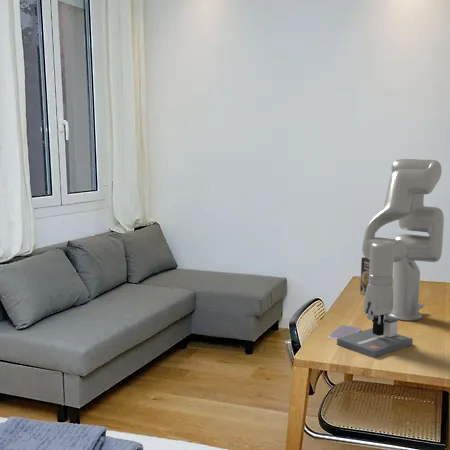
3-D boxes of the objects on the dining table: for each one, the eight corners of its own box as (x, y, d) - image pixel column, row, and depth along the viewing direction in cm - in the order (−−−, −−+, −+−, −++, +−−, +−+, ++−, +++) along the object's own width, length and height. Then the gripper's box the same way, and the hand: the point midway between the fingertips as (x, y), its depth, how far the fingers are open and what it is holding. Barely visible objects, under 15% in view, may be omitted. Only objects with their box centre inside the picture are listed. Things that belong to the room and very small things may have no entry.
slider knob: (384, 331, 202) (385, 315, 201) (397, 335, 198) (398, 319, 197) (376, 333, 199) (377, 317, 198) (389, 337, 195) (390, 321, 194)
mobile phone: (361, 327, 210) (349, 339, 197) (361, 330, 211) (349, 342, 198) (341, 324, 214) (327, 336, 201) (341, 326, 214) (327, 338, 201)
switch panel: (375, 332, 207) (375, 326, 207) (412, 344, 195) (412, 338, 195) (336, 344, 195) (337, 338, 194) (374, 357, 183) (374, 351, 183)
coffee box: (359, 293, 259) (360, 257, 257) (371, 292, 262) (372, 256, 260) (372, 298, 251) (374, 261, 249) (384, 297, 254) (386, 260, 252)
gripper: (385, 274, 200) (382, 327, 203) (356, 280, 191) (354, 335, 194) (404, 279, 194) (401, 332, 197) (375, 285, 185) (372, 342, 188)
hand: (377, 334), depth 195 cm, fingers closed
